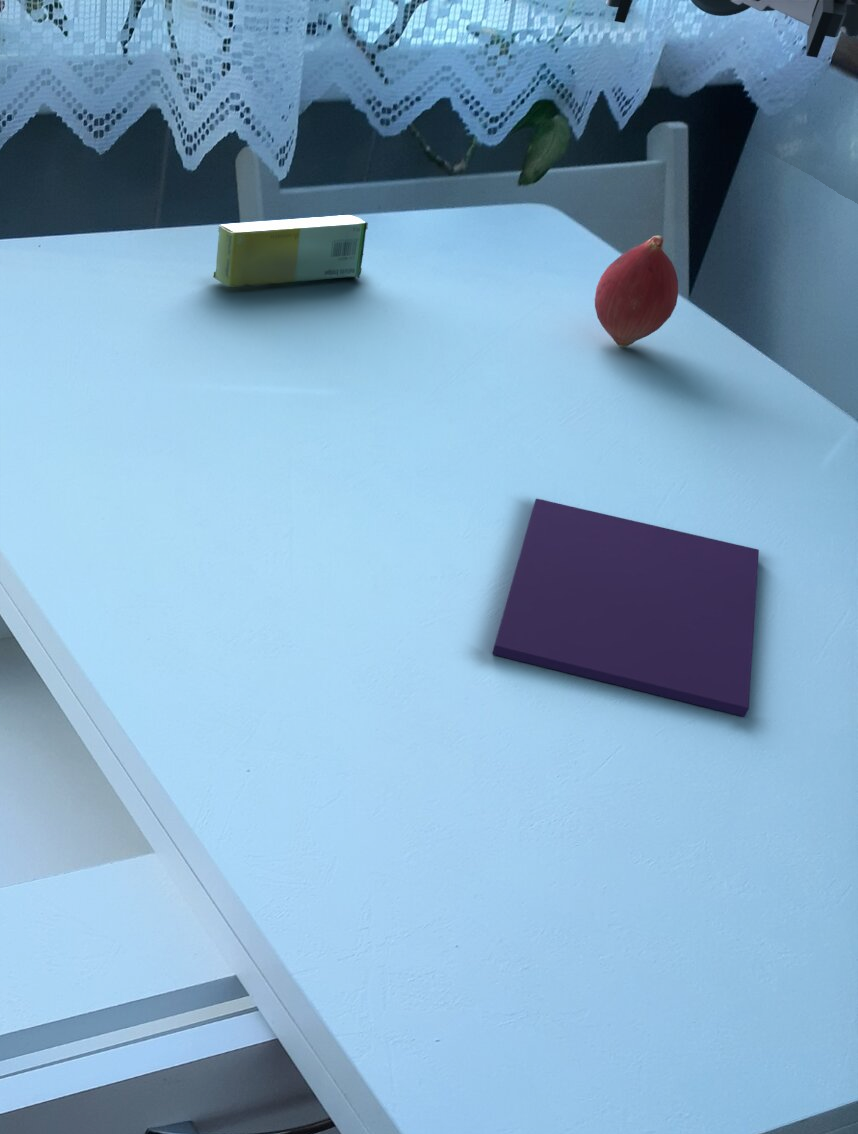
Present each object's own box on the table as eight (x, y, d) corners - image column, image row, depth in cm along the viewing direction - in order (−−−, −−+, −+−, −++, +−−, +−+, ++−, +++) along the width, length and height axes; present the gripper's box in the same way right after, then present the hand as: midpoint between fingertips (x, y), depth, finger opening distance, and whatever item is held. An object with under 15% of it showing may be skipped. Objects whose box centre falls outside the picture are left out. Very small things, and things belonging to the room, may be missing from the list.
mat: (755, 557, 95) (759, 549, 94) (744, 717, 83) (749, 708, 82) (533, 506, 97) (535, 497, 97) (491, 654, 85) (494, 645, 85)
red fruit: (570, 345, 114) (603, 233, 109) (599, 321, 118) (632, 212, 112) (642, 369, 112) (680, 257, 107) (669, 345, 116) (708, 235, 110)
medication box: (344, 267, 121) (353, 213, 119) (362, 278, 120) (371, 222, 117) (211, 278, 117) (217, 221, 115) (228, 288, 115) (233, 231, 113)
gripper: (593, -132, 121) (562, -76, 107) (917, -79, 117) (928, -14, 103) (565, -22, 126) (532, 45, 112) (873, 32, 122) (878, 109, 108)
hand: (721, 17), depth 107 cm, fingers open, 13 cm apart
